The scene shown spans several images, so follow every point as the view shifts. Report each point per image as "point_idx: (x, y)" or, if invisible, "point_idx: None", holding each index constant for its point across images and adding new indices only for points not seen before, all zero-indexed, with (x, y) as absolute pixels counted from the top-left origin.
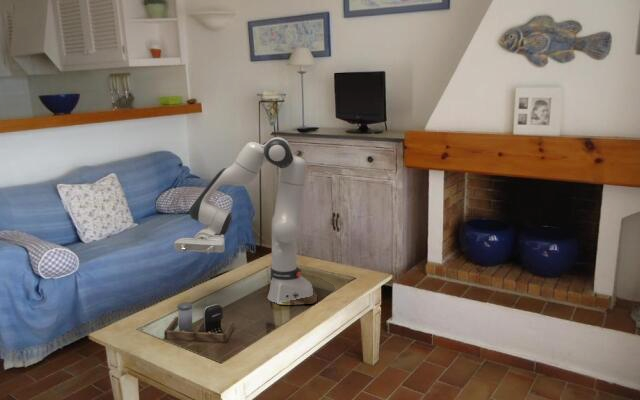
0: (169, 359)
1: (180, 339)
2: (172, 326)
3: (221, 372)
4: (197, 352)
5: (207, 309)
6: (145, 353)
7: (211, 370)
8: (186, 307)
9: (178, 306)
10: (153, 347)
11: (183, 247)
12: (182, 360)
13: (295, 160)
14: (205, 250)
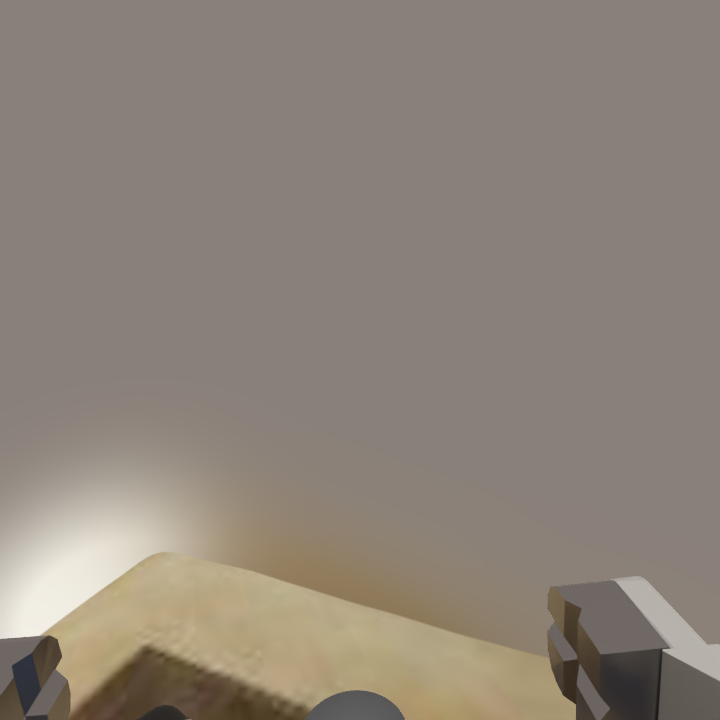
0: (344, 629)
1: None
2: None
3: (150, 604)
4: (245, 692)
5: (176, 712)
6: (456, 644)
7: (183, 606)
8: (329, 704)
9: (392, 706)
10: (454, 688)
11: (644, 621)
12: (294, 633)
13: None
14: (38, 648)
